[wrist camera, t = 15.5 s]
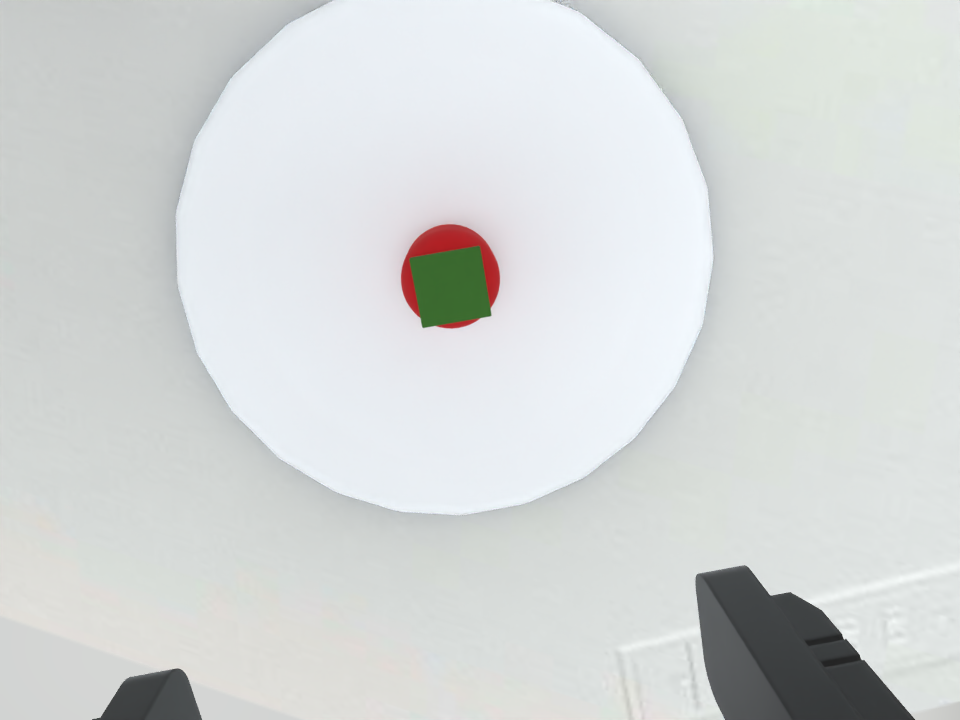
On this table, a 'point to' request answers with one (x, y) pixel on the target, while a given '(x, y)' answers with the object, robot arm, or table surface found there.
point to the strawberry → (450, 277)
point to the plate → (429, 203)
